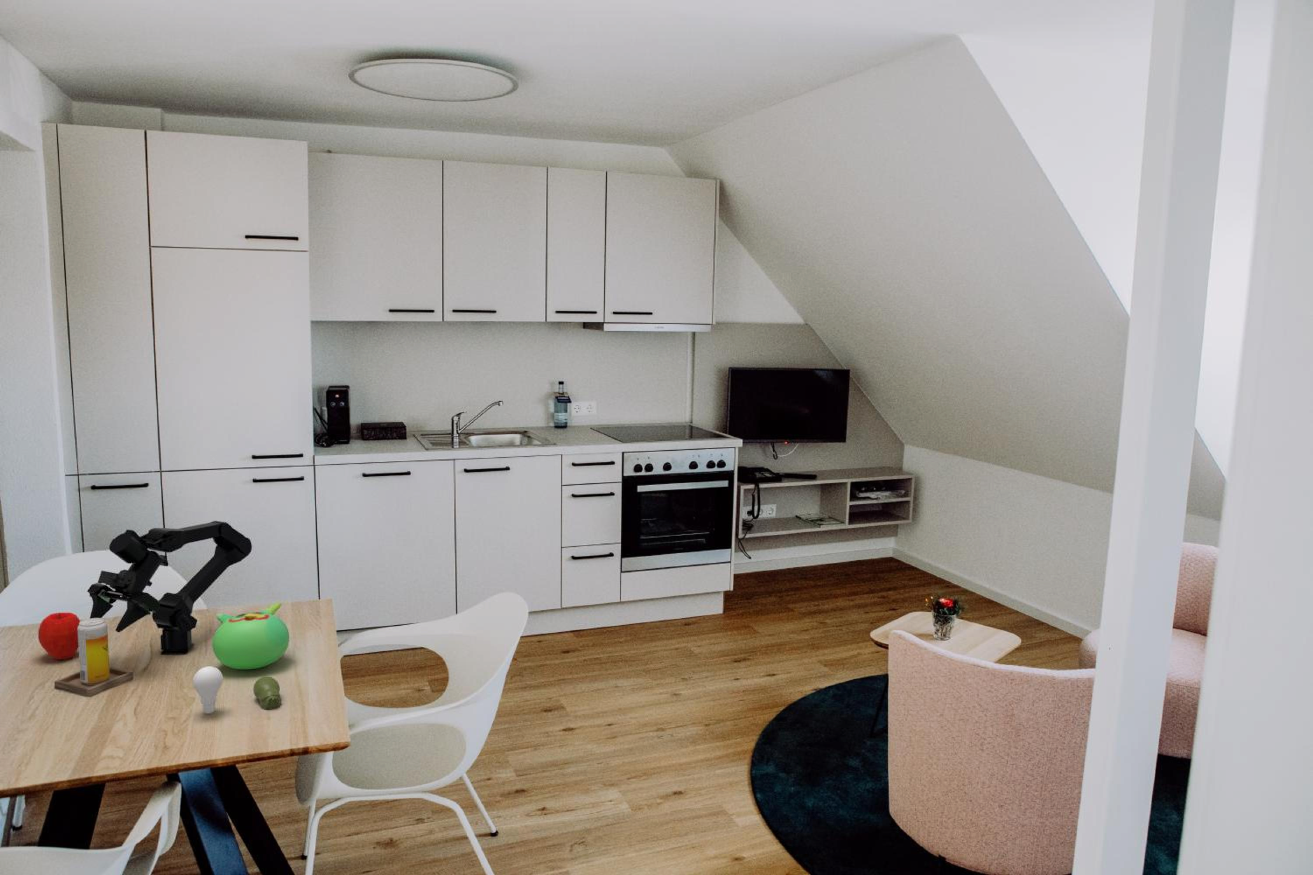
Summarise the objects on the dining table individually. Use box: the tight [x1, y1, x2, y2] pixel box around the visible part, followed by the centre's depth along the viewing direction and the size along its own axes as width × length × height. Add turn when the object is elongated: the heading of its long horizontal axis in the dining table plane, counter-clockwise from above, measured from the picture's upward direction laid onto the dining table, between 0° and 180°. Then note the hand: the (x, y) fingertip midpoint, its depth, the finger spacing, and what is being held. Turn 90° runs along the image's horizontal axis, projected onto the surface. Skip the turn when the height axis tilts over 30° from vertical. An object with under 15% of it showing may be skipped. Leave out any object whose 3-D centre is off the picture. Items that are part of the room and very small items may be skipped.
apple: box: [37, 612, 81, 660], centre depth 237 cm, size 10×10×12 cm
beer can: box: [78, 617, 110, 685], centre depth 222 cm, size 6×6×15 cm
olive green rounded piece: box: [252, 675, 282, 710], centre depth 216 cm, size 6×5×10 cm
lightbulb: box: [192, 666, 224, 715], centre depth 209 cm, size 6×6×11 cm
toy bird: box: [212, 602, 290, 670], centre depth 236 cm, size 18×17×15 cm
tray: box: [53, 666, 134, 698], centre depth 223 cm, size 12×12×2 cm
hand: (103, 628), depth 224 cm, fingers open, 9 cm apart
